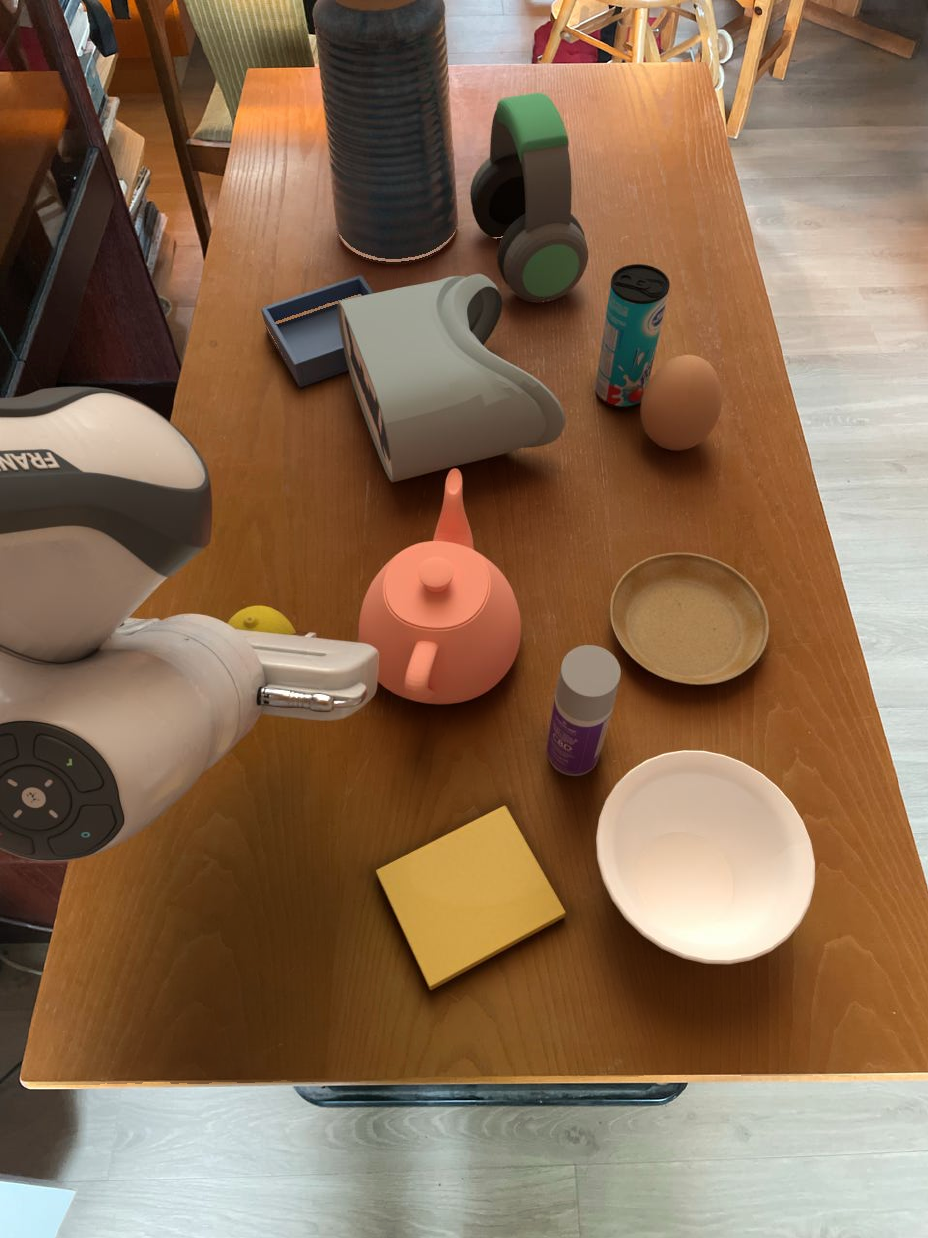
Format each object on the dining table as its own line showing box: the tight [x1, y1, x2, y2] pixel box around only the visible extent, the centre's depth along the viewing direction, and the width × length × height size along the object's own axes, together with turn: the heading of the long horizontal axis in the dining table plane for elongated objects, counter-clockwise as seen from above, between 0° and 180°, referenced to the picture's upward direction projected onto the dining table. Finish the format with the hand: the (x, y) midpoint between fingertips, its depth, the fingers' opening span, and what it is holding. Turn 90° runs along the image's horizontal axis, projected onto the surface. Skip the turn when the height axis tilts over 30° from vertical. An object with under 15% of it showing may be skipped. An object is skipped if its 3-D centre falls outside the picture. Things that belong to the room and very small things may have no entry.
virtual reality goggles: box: [337, 273, 566, 483], centre depth 95 cm, size 22×19×13 cm
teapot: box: [357, 467, 522, 705], centre depth 79 cm, size 22×15×12 cm
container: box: [546, 644, 622, 777], centre depth 72 cm, size 5×5×15 cm
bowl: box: [595, 750, 816, 965], centre depth 68 cm, size 16×16×9 cm
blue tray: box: [260, 274, 375, 388], centre depth 106 cm, size 13×11×4 cm
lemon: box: [227, 605, 296, 635], centre depth 66 cm, size 6×6×8 cm
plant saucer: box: [609, 552, 770, 686], centre depth 83 cm, size 15×15×3 cm
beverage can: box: [594, 263, 671, 410], centre depth 95 cm, size 6×6×15 cm
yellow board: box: [375, 805, 566, 991], centre depth 71 cm, size 12×10×2 cm
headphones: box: [469, 92, 589, 303], centre depth 106 cm, size 19×11×20 cm, turn 15°
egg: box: [640, 354, 723, 451], centre depth 93 cm, size 8×8×11 cm
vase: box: [312, 0, 459, 265], centre depth 105 cm, size 16×16×32 cm
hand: (262, 637), depth 66 cm, fingers closed on lemon, 5 cm apart
